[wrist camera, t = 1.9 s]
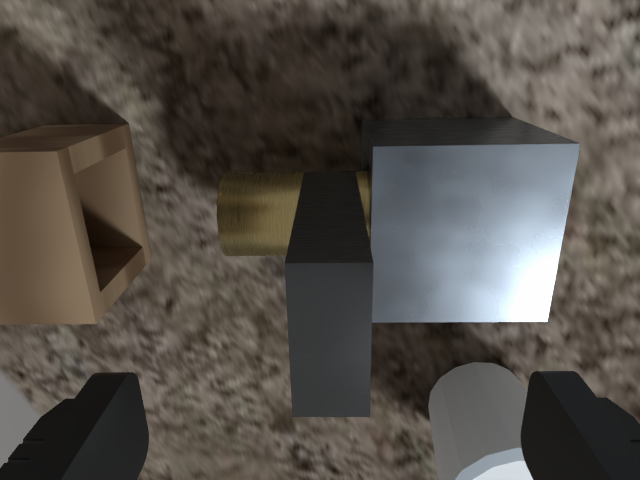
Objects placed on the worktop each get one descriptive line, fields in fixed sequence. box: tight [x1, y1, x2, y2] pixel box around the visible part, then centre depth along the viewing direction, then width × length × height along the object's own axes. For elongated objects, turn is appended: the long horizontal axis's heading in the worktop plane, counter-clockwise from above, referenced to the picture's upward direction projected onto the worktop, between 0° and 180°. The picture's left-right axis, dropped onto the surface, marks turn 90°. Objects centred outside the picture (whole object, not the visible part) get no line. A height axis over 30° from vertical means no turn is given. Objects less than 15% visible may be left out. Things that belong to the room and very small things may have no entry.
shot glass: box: [428, 362, 533, 480], centre depth 25 cm, size 7×7×7 cm
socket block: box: [0, 124, 151, 325], centre depth 21 cm, size 4×7×6 cm, turn 1°
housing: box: [361, 117, 580, 323], centre depth 20 cm, size 7×7×6 cm
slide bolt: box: [217, 171, 374, 417], centre depth 17 cm, size 13×4×12 cm, turn 91°
